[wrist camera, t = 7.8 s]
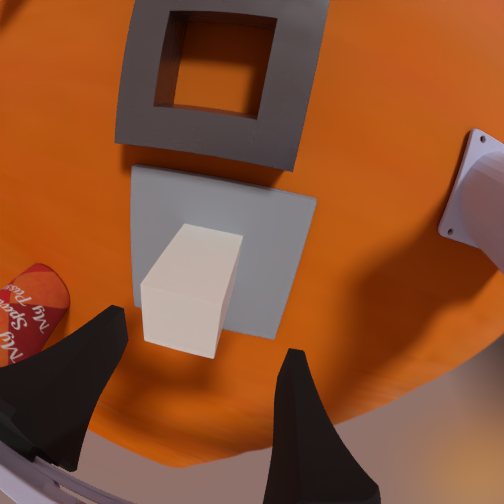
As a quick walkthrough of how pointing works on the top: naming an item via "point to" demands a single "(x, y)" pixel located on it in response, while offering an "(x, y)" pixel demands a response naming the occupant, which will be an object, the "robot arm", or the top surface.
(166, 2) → the metal frame
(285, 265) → the rubber pad
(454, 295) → the top surface
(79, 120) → the top surface
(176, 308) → the ivory plug
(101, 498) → the robot arm
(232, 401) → the top surface
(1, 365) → the coffee cup
